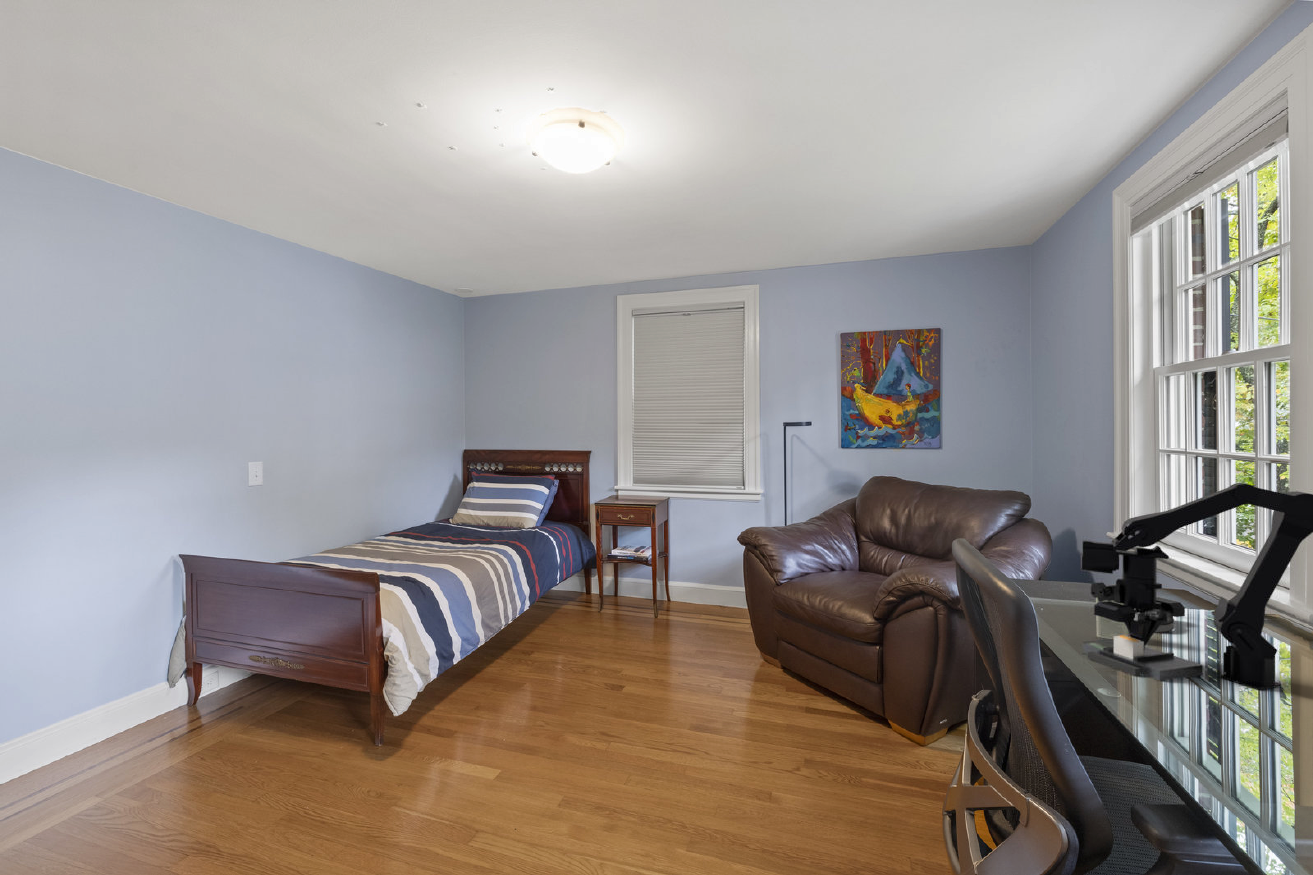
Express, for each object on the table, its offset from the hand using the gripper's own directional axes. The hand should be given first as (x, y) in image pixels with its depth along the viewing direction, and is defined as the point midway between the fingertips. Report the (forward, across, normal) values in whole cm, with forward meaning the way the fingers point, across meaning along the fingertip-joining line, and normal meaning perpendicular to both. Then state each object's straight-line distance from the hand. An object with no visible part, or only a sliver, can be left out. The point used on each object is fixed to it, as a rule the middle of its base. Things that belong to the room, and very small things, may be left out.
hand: (1138, 649), depth 127 cm
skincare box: (+3, -11, -14) cm, 18 cm away
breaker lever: (+1, +3, 0) cm, 3 cm away
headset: (+4, -31, -22) cm, 38 cm away
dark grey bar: (+3, +7, 0) cm, 8 cm away
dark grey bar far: (+3, -2, -9) cm, 10 cm away
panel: (+3, 0, 0) cm, 3 cm away
